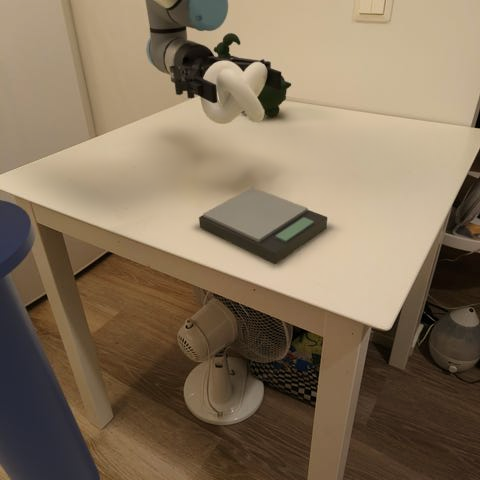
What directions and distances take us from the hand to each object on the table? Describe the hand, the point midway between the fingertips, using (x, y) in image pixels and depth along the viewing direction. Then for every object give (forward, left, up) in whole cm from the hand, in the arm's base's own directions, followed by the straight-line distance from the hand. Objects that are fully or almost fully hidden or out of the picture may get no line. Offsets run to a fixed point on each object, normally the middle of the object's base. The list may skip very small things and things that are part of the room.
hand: (248, 87), depth 74 cm
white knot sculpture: (-3, +1, -6) cm, 7 cm away
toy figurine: (-29, +33, -18) cm, 47 cm away
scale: (+11, -10, -18) cm, 23 cm away
